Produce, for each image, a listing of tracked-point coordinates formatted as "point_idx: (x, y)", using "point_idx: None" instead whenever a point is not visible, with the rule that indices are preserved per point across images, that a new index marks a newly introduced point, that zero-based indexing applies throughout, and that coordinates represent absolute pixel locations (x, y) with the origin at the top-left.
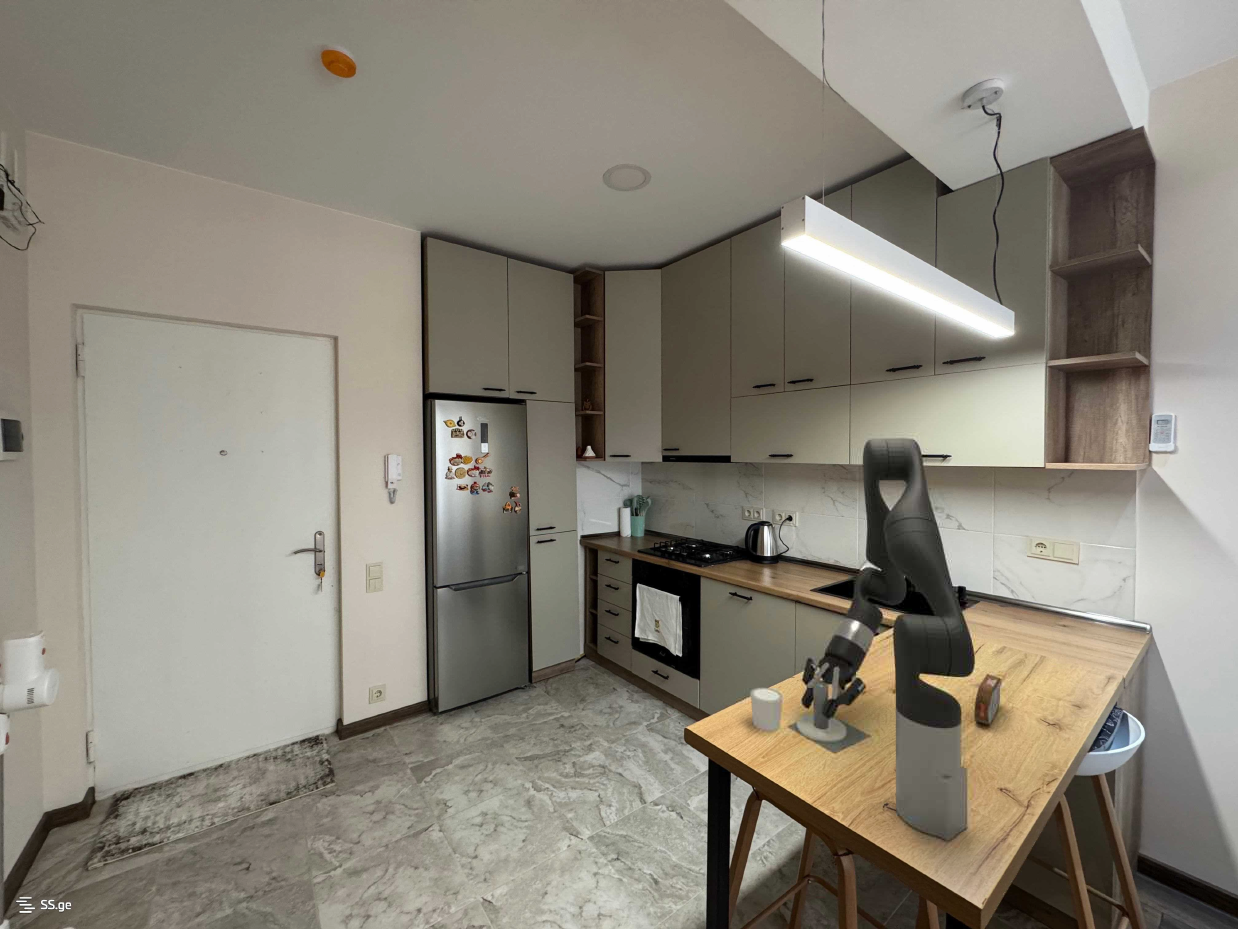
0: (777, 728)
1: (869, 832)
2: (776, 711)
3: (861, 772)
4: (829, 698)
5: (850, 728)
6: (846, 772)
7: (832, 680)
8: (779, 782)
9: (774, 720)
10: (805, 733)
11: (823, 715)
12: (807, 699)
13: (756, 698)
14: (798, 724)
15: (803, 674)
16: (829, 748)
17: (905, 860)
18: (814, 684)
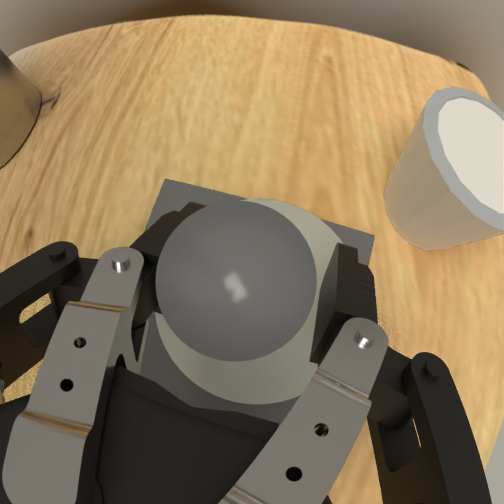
0: (386, 190)
1: (85, 37)
2: (409, 143)
3: (92, 158)
4: None
5: (169, 389)
6: (123, 131)
7: (132, 395)
8: (248, 20)
9: (399, 156)
10: (285, 203)
11: None
12: (334, 269)
13: (481, 97)
14: (335, 242)
15: (463, 407)
16: (187, 195)
17: (51, 40)
18: (287, 225)
